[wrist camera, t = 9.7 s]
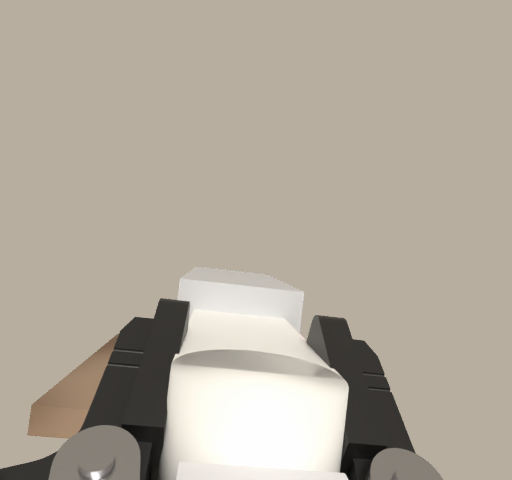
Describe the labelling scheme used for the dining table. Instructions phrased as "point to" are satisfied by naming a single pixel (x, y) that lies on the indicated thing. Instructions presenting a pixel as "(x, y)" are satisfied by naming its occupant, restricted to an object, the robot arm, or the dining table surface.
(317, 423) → the white cylinder with crossbar
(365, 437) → the robot arm
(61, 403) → the wooden pedestal stand
